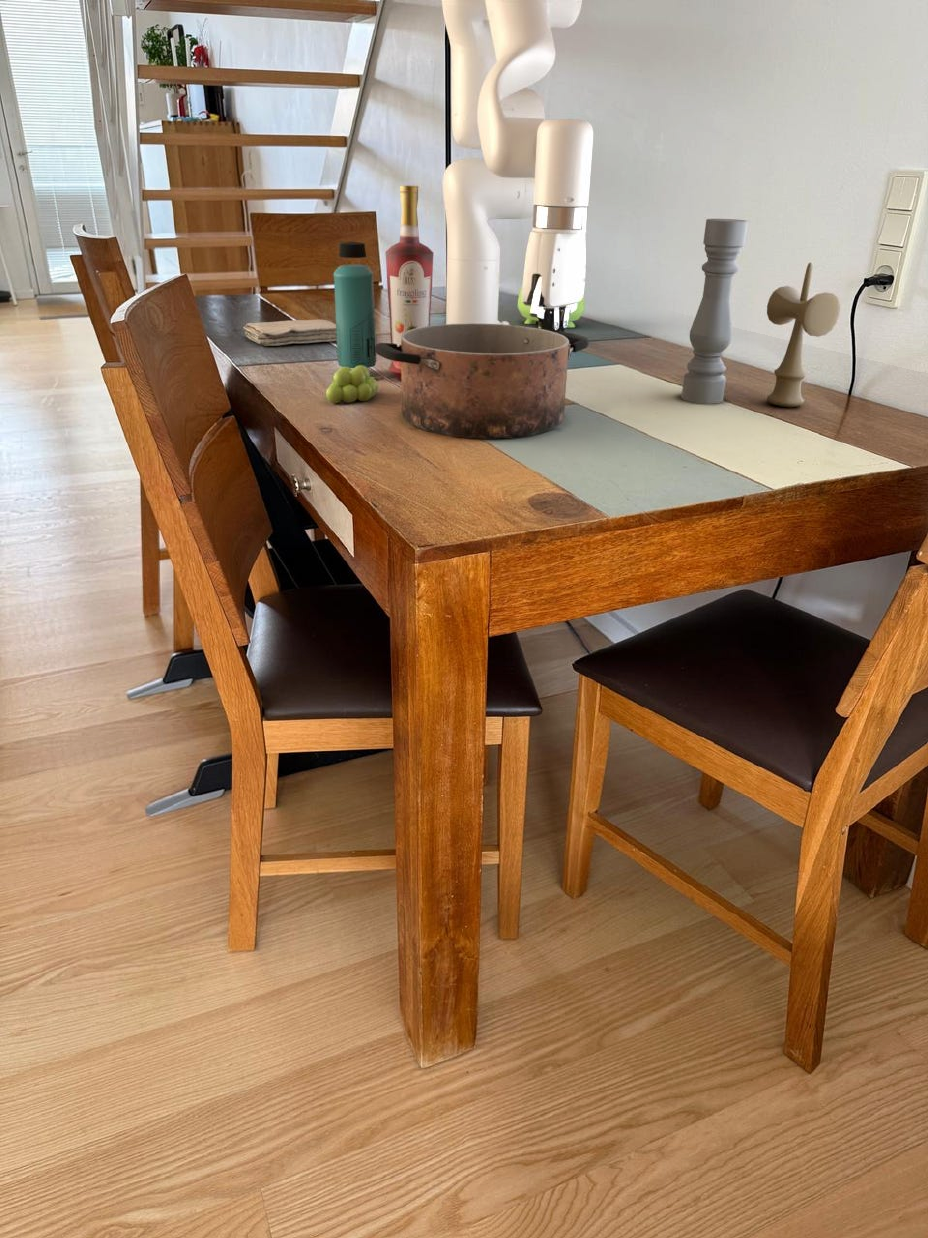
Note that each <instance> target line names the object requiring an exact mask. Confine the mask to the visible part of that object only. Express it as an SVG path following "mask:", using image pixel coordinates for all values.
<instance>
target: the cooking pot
mask: <svg viewBox="0 0 928 1238" xmlns="http://www.w3.org/2000/svg"><path fill="white" fill-rule="evenodd" d="M588 347H589V339H588V338H587V337H586V336H583V335H580V334H577V333H573V332H569V331H565V332H561V331H560V332H552V331H548V330H543V329H541V328H538V327H531V326H523V325H514V324H509V325H503V324H474V323H468V324H446V323H445V324H435V325H430V326H426V327H420V328H416V329H412V330H409V331H407V332H405V333H403V334H402V336H401V345H399V347H397V344H394V343H391V342H380V343H379V342H378V343H376V348H375V352H376V353H377V355H378V356H379V357H382V358H384V359H386V360H389V361H392V360H393V361H398V362H401V379H400V380H401V382H400V383H401V384H400V385H401V389H400V390H401V414H402V416H403V418H404V419H405V420H406V422H408V423H409V424H410V425H411V426H413V427H415V428H417V429H419V430H423V431H424V432H425V431H426V432H429V433H433V434H438V435H442V436H448V437H454V438H463V439H478V440H479V439H480V440H500V439H501V440H502V439H503V440H504V439H516V438H526V437H532V436H537V435H540V434H544V433H547V432H549V431H551V430H554V429H556V428H557V427H558V426H559V425H560V424H561V423H562V422H563V419H564V416H565V409H566V408H565V405H566V394H567V393H566V392H567V378H568V377H567V376H568V363H569V360H570V359H571V358H572V353H578V352H579V351H582V350H585V349H586V348H588Z"/></svg>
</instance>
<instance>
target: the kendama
mask: <svg viewBox="0 0 928 1238" xmlns="http://www.w3.org/2000/svg"><path fill="white" fill-rule="evenodd" d="M812 272H813V263H812V262H808V264H807V267H806V269H805V273H804V278H803V282H802V288H801V292H800V291H799V290H798V289H796V288H795V287H794V286H790V285H785V286H779V287H778V288H776V289H775V290H773V291H772V293H771V294H770V297H769V298H768V301H767V304H766V315H767V318H768V320H769V322H771V323H772V324H773V325H777V326H782V325H787V324H789V323H791V322H792V321H794V323H793V327H792V331H791V335H790V338H789V341H788V344H787V347H786V349H785V353H784V356H783V359H782V361H781V363H780V365H779V366H778V368H776V369H775V370H774V371H773V373H774V376H775V378H776V379H775V384H774V389H773V391H772V392H770V394H768V396H767V398H766V399H767V401H768V403H770V404H771V405H774V406H777V407H785V408H795V407H800V406H802V405H803V404H804V403H805V399H804V398H803V397H802V390H801V389H802V383H803V381H804V379H805V378H806V377H807V373H806V372H805V370H804V367H803V343H804V332H805V333H806V334H808V335H809V336H811V337H816V338H819V337H823V336H826V335H828V334H829V333H831V331H833V329H834V328H835V327H836V325H837V323H838V320H839V317H840V314H841V303H840V299H839V297H838V296H837V295H835V294H834V293H832V292H829V291H824V292H820V293H817V294H815V295H813V296H812V297H811V298H809V293H810V286H811V280H812ZM808 298H809V299H808Z"/></svg>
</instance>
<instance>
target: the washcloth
mask: <svg viewBox="0 0 928 1238" xmlns="http://www.w3.org/2000/svg"><path fill="white" fill-rule="evenodd" d="M243 329H244V331H245V332H244V333H245V334H244V335H245V337H246V338H248V339H249V340H251V341H253V342H255V343H257V344H258V345H262V346H263V347H264V346H265V347H269V346H273V347H276V346H283V345H284V346H286V345H291V344H293V345H294V344H313V343H314V344H315V343H325V342H337V336H336V330H335V329H336V323H335V322H332V321H330V320H327V319H294V320H290V319H289V320H279V321H269V322H268V321H262V322H261V321H260V322H249V323H246V324H245V325H244V326H243Z"/></svg>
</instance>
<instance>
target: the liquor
mask: <svg viewBox="0 0 928 1238" xmlns="http://www.w3.org/2000/svg"><path fill="white" fill-rule="evenodd" d="M399 198H400V204H401V219H400V229H399V230H400V231H399V242H397V243H395V244H392V245H391V246H390V247H389V248H388V249H387V250H386V251H385V265H386V286H387V299H388V312H389V330H390V343H394V344H397V347H399V345H401V336H402V334H403V333H405V332H407V331H409V330H412V329H416V328H420V327H426V326H431V312H432V311H431V310H432V298H433V297H432V294H433V277H434V276H433V273H434V251H433V250H432V249H431V248H430V247H429V246H428V245H425V244H423V243H422V242H421V241H420V232H419V219H418V217H419V216H418V203H419V185H400V186H399ZM388 370H389V371H390V372H391V373H392V374H393V375H394V376H395V378H396V379H398V380H401V362H398V361H393V360H391V364H390V366H389V367H388Z"/></svg>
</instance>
